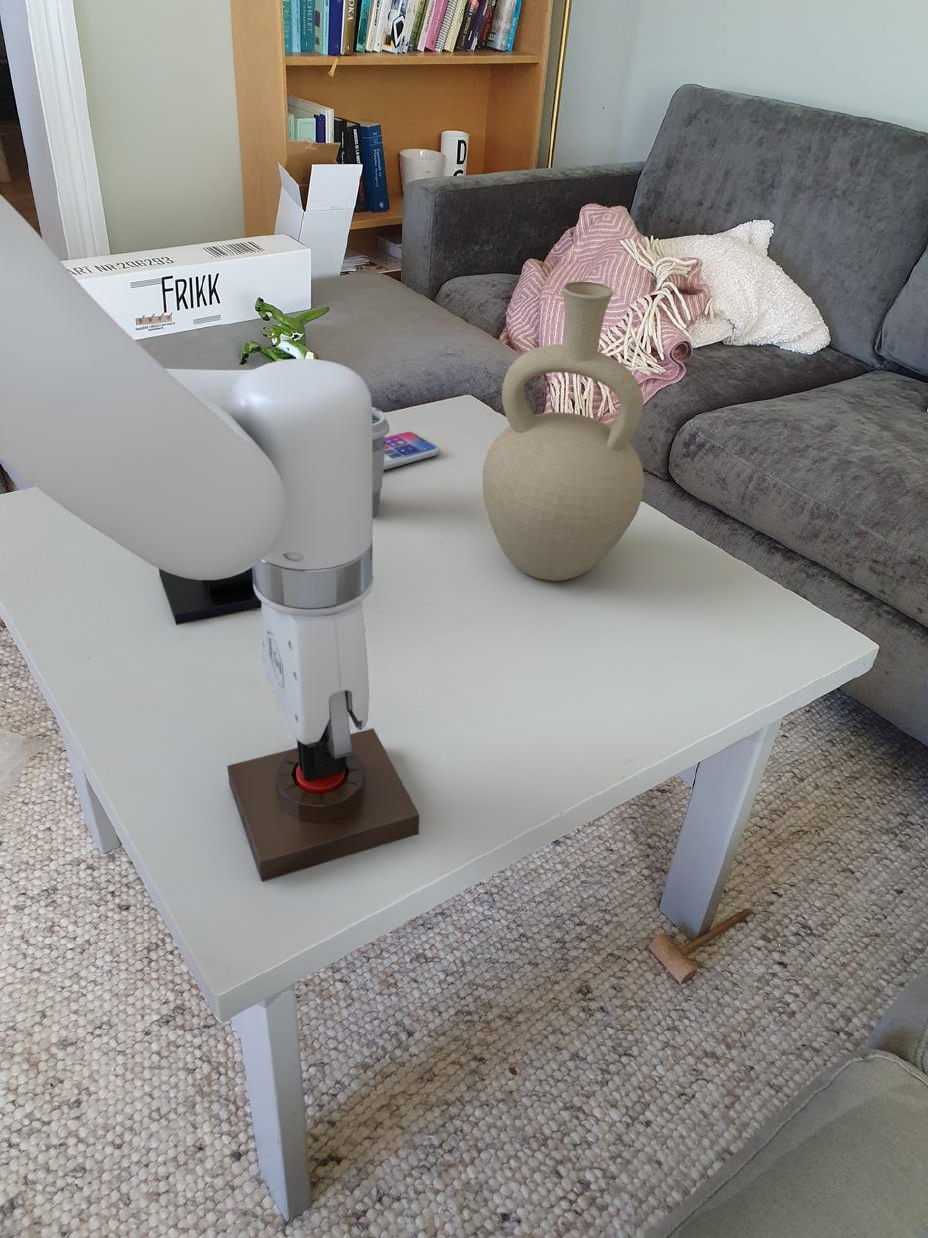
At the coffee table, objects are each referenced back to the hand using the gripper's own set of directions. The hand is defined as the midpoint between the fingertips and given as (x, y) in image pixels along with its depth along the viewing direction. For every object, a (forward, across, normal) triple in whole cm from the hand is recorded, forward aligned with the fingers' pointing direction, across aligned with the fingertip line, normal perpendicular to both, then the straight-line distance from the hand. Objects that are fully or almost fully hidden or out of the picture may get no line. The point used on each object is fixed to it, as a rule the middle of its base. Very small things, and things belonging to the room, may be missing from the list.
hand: (322, 769), depth 68 cm
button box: (+4, 0, 0) cm, 4 cm away
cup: (+5, -43, +18) cm, 47 cm away
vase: (+5, -25, +34) cm, 42 cm away
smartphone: (+4, -55, +25) cm, 61 cm away
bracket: (+4, -32, 0) cm, 32 cm away
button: (+2, 0, 0) cm, 2 cm away
